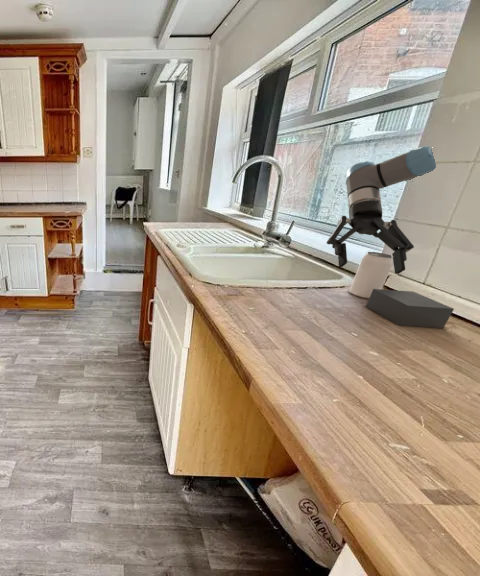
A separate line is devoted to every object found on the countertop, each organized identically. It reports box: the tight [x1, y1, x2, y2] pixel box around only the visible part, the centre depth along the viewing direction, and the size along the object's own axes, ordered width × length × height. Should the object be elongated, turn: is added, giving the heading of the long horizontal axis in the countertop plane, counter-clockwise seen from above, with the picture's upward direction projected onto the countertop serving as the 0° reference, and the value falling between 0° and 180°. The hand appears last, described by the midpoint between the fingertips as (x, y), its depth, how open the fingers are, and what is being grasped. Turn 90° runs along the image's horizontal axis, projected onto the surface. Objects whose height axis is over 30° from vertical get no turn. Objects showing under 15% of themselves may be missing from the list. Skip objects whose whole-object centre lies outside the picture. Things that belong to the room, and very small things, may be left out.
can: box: [349, 251, 394, 300], centre depth 85 cm, size 6×6×12 cm
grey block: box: [365, 289, 455, 329], centre depth 74 cm, size 10×10×5 cm
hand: (371, 268), depth 85 cm, fingers open, 13 cm apart
